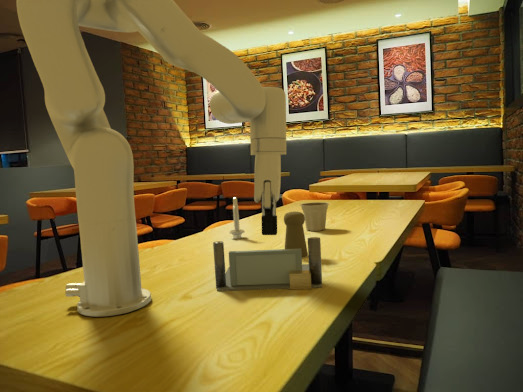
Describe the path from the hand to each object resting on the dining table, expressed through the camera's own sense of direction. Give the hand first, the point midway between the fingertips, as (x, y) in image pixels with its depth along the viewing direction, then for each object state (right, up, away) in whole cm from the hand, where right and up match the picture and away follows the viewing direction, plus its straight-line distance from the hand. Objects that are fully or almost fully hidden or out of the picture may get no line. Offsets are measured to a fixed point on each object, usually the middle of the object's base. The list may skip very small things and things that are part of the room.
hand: (269, 234), depth 90 cm
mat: (0, -9, -2) cm, 9 cm away
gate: (-1, -9, -8) cm, 12 cm away
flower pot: (+16, -3, +50) cm, 53 cm away
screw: (-9, -5, +43) cm, 44 cm away
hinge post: (-10, -10, -7) cm, 16 cm away
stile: (+7, -9, -9) cm, 15 cm away
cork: (+7, -7, +16) cm, 18 cm away
